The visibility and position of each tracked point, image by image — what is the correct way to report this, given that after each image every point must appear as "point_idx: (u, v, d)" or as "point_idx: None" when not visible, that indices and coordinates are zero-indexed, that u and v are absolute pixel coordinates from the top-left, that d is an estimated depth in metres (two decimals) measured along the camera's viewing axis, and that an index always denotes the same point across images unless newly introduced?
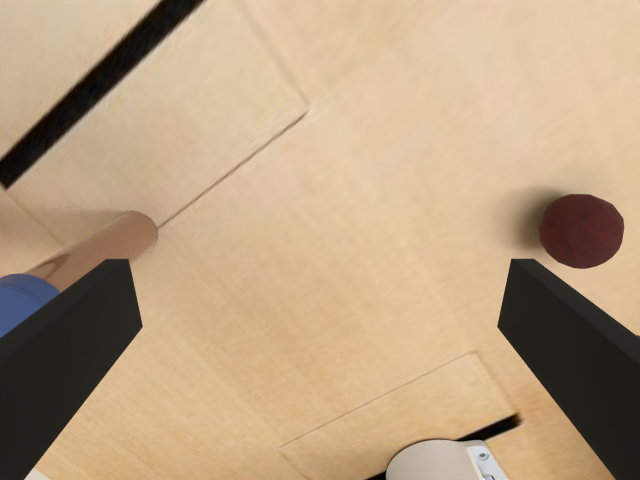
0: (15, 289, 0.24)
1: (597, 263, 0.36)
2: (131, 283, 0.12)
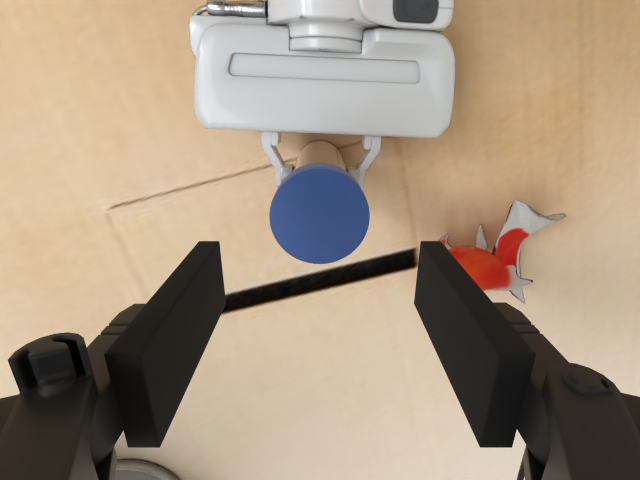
0: None
1: None
2: (220, 263, 0.14)
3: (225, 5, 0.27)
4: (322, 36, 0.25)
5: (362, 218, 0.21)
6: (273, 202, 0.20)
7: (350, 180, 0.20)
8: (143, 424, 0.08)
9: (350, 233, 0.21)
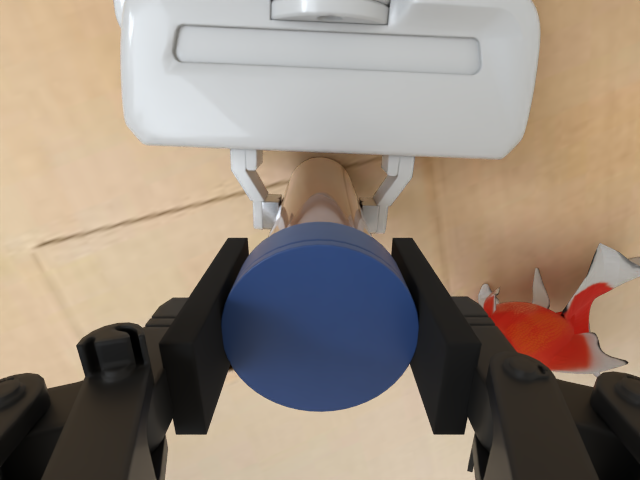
0: None
1: None
2: None
3: None
4: None
5: (405, 336, 0.10)
6: (227, 308, 0.10)
7: (383, 267, 0.10)
8: (192, 411, 0.09)
9: (380, 362, 0.11)
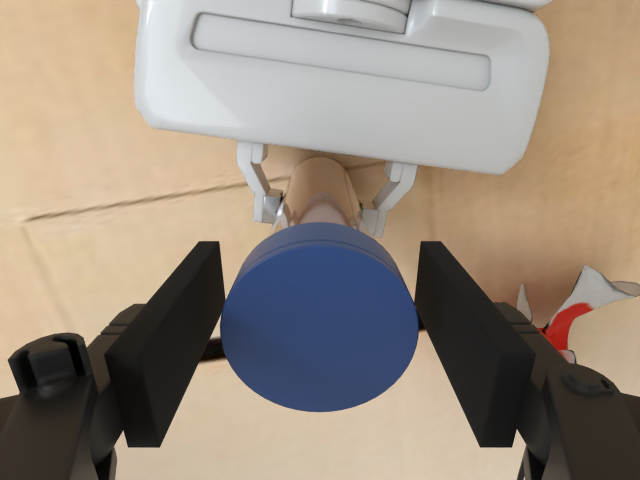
0: None
1: None
2: (220, 263, 0.14)
3: None
4: None
5: (308, 259, 0.10)
6: (298, 408, 0.11)
7: (232, 292, 0.10)
8: (143, 424, 0.08)
9: (344, 278, 0.10)
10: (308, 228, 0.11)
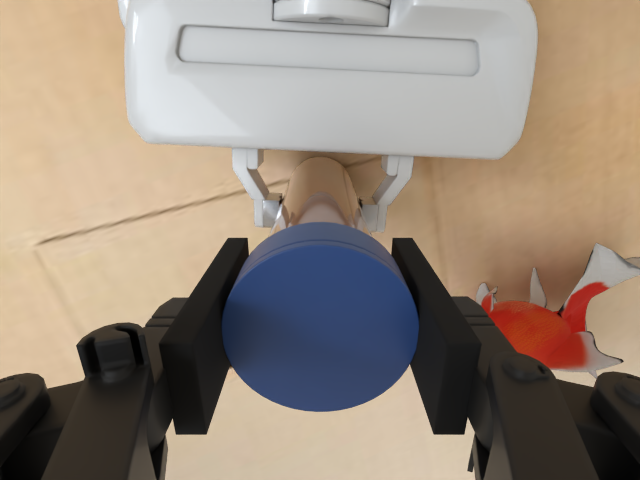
0: None
1: None
2: None
3: None
4: None
5: (301, 260, 0.10)
6: (306, 409, 0.11)
7: (229, 299, 0.10)
8: (192, 411, 0.09)
9: (339, 276, 0.10)
10: (301, 229, 0.11)
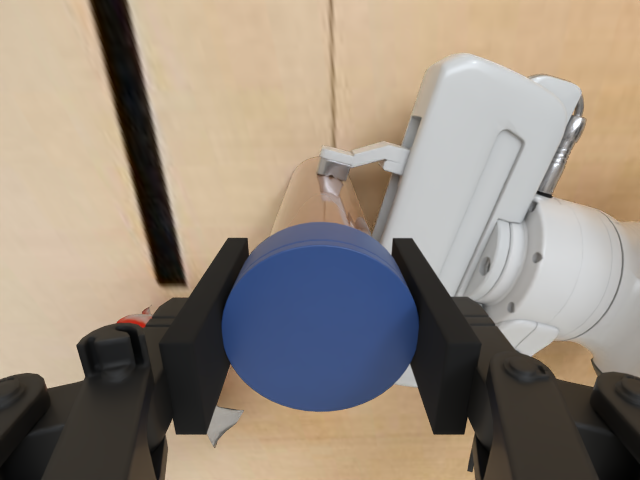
0: None
1: None
2: None
3: (572, 143, 0.20)
4: (504, 269, 0.20)
5: (301, 260, 0.10)
6: (306, 409, 0.11)
7: (230, 299, 0.10)
8: (192, 412, 0.09)
9: (339, 276, 0.10)
10: (301, 229, 0.11)
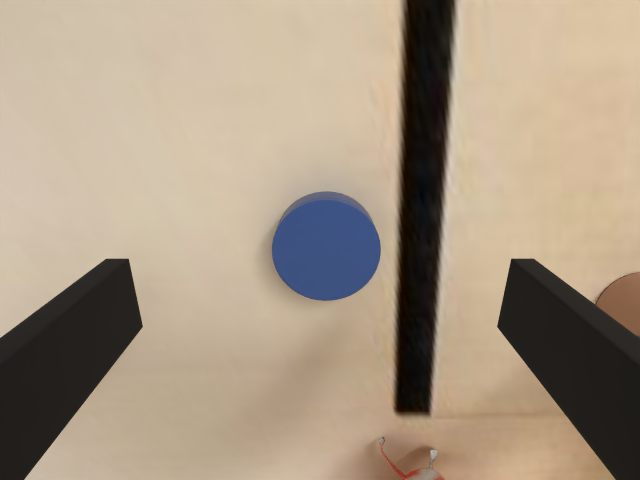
0: None
1: None
2: (131, 283, 0.12)
3: None
4: None
5: (316, 208, 0.18)
6: (318, 298, 0.20)
7: (278, 230, 0.19)
8: None
9: (336, 217, 0.18)
10: (315, 194, 0.19)
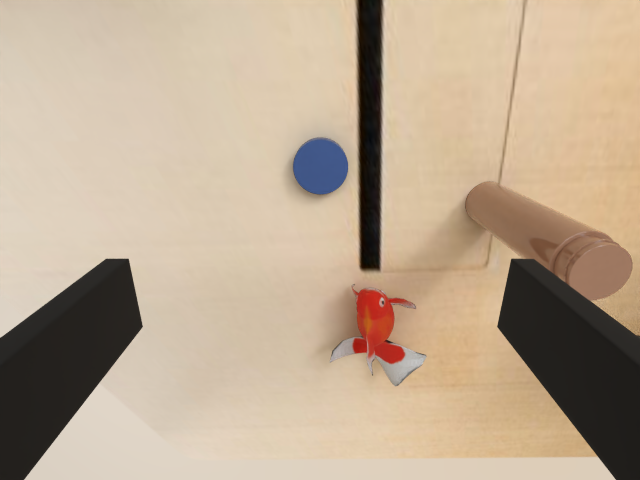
0: (342, 181, 0.38)
1: None
2: (131, 283, 0.12)
3: None
4: None
5: (315, 143, 0.37)
6: (316, 193, 0.39)
7: (296, 155, 0.37)
8: None
9: (325, 148, 0.37)
10: (315, 138, 0.38)
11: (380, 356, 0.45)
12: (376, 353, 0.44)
